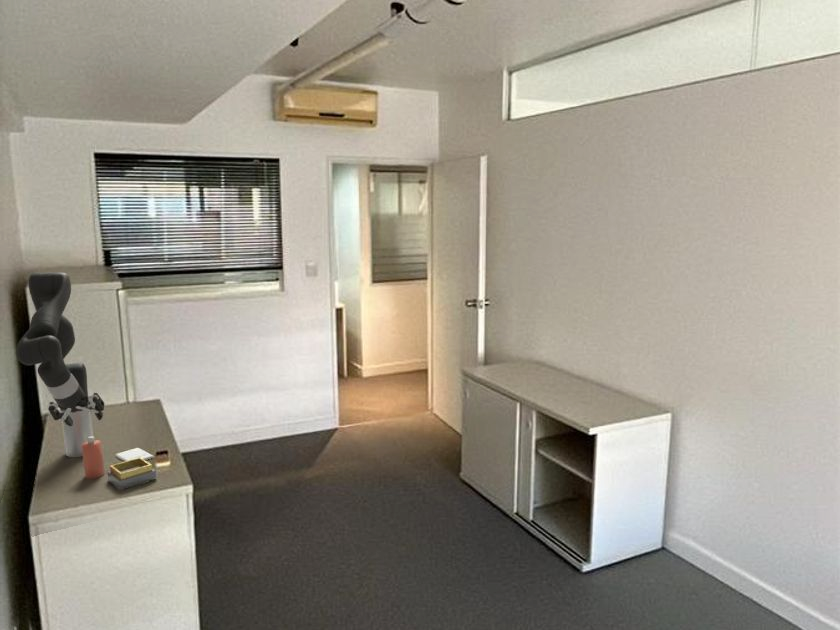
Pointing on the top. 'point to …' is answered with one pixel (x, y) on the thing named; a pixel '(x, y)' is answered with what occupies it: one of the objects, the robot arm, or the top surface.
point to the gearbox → (131, 473)
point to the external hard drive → (134, 455)
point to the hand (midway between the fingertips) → (86, 421)
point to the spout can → (92, 458)
